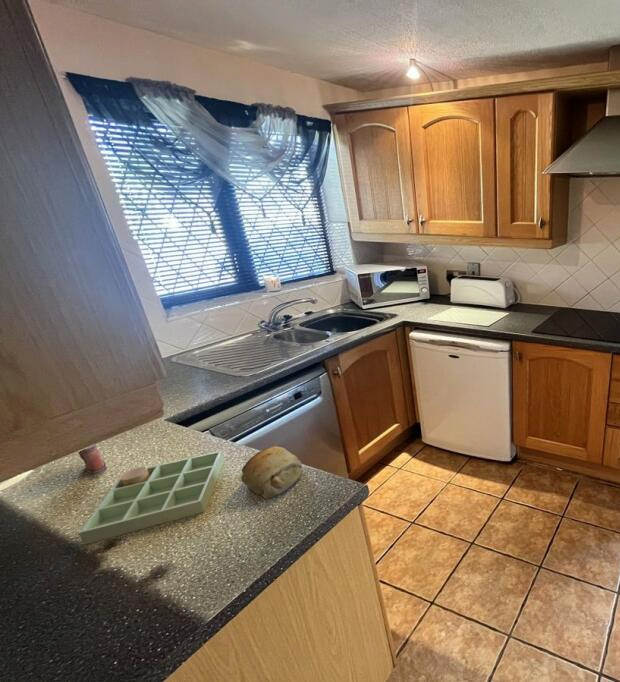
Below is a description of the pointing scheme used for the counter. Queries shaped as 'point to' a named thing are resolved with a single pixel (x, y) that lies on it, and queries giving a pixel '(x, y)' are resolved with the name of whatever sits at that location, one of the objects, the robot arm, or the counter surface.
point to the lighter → (93, 460)
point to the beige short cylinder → (135, 476)
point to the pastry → (271, 471)
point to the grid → (156, 497)
